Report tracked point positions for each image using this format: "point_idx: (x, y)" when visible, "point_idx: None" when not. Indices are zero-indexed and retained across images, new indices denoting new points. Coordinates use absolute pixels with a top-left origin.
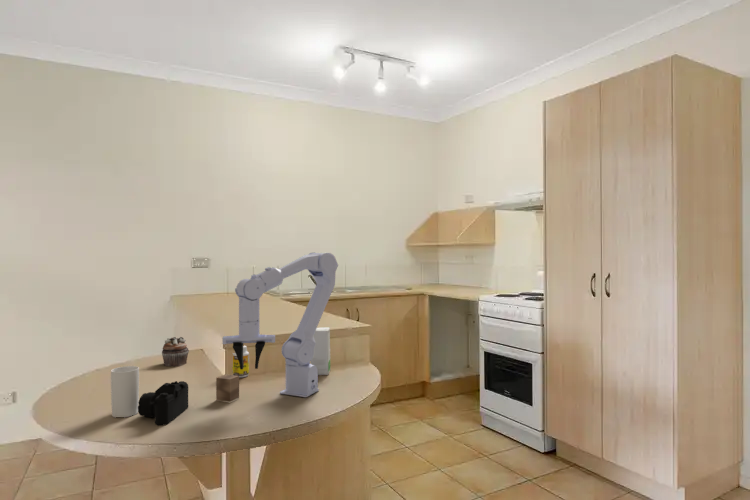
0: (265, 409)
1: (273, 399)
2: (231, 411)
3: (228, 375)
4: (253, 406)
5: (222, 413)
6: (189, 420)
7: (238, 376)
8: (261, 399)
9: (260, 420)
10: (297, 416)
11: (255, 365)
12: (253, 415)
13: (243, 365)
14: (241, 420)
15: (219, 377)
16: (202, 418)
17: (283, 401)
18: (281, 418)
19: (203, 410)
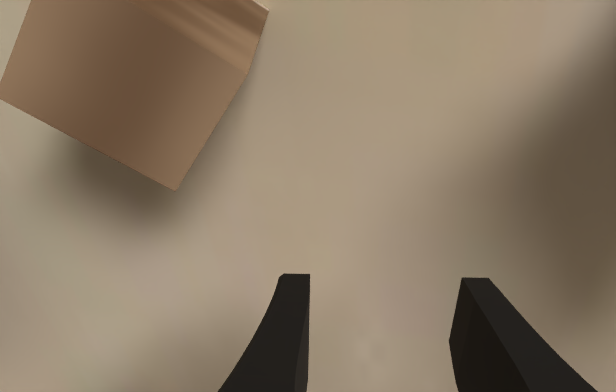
0: (459, 262)
1: (543, 83)
2: (258, 260)
3: (110, 31)
4: (387, 203)
5: (211, 280)
6: (66, 338)
7: (242, 81)
8: (451, 66)
9: (420, 386)
10: (608, 372)
11: (461, 382)
12: (387, 330)
13: (309, 294)
14: (329, 374)
15: (32, 99)
16: (123, 325)
17: (605, 141)
18: None
19: (79, 219)
